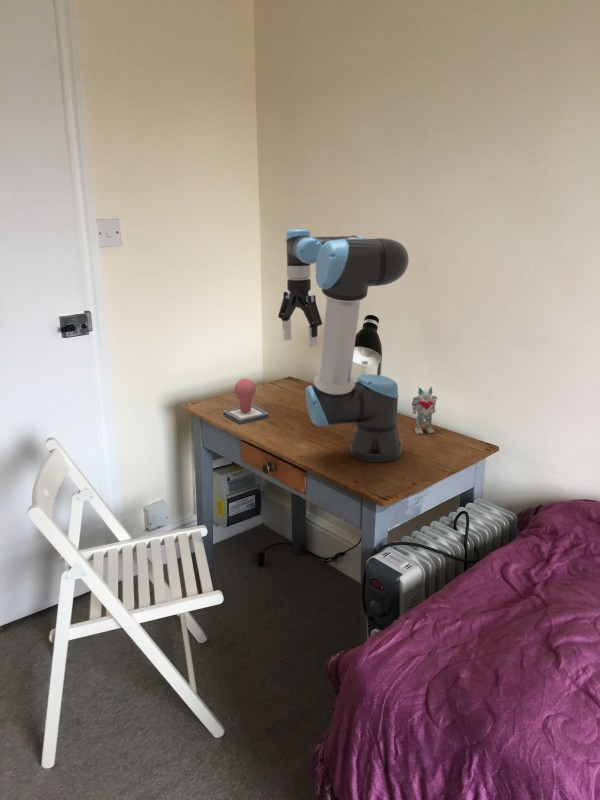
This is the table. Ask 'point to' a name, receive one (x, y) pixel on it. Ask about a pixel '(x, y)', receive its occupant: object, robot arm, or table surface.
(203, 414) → the table surface
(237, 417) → the holder
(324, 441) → the table surface
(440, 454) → the table surface
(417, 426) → the figurine
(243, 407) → the light bulb
